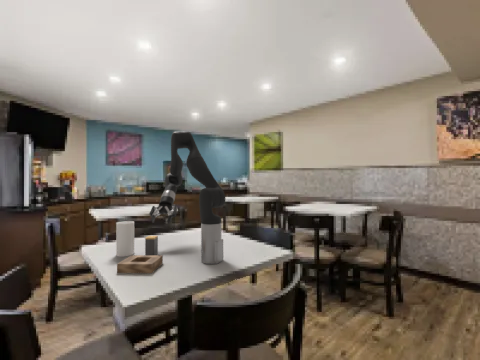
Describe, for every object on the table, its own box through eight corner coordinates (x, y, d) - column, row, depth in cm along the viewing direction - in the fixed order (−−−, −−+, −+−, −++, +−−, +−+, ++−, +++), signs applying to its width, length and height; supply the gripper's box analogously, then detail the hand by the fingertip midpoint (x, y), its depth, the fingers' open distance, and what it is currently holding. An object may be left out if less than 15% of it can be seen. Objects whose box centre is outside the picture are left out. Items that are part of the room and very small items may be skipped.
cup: (129, 251, 130) (129, 220, 130) (137, 253, 125) (137, 222, 125) (113, 254, 124) (113, 222, 124) (121, 257, 119) (121, 224, 119)
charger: (157, 254, 123) (157, 235, 123) (154, 257, 118) (154, 237, 118) (149, 254, 123) (149, 235, 123) (145, 257, 118) (145, 237, 119)
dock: (162, 263, 109) (162, 255, 109) (151, 273, 97) (151, 264, 97) (131, 263, 110) (131, 255, 110) (117, 272, 98) (117, 263, 98)
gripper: (153, 195, 142) (145, 218, 130) (178, 195, 141) (171, 218, 129) (157, 203, 147) (149, 226, 135) (180, 203, 146) (175, 226, 135)
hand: (160, 222), depth 132 cm, fingers open, 8 cm apart
